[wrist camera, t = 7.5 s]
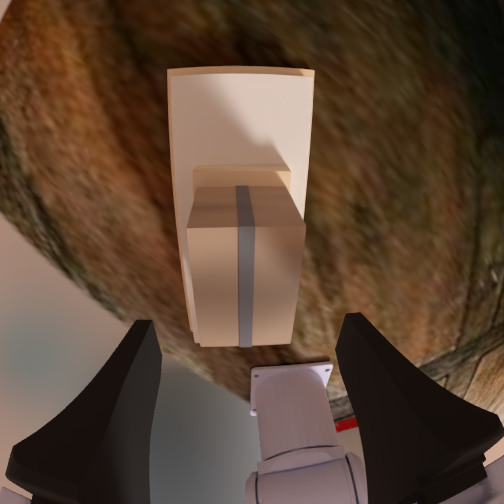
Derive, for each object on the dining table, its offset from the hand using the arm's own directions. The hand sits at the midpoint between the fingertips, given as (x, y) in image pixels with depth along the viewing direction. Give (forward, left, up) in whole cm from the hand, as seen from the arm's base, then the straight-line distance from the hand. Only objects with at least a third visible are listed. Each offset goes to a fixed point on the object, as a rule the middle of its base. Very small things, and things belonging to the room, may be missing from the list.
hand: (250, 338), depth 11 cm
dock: (0, 0, -10) cm, 10 cm away
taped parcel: (0, 0, -8) cm, 8 cm away
